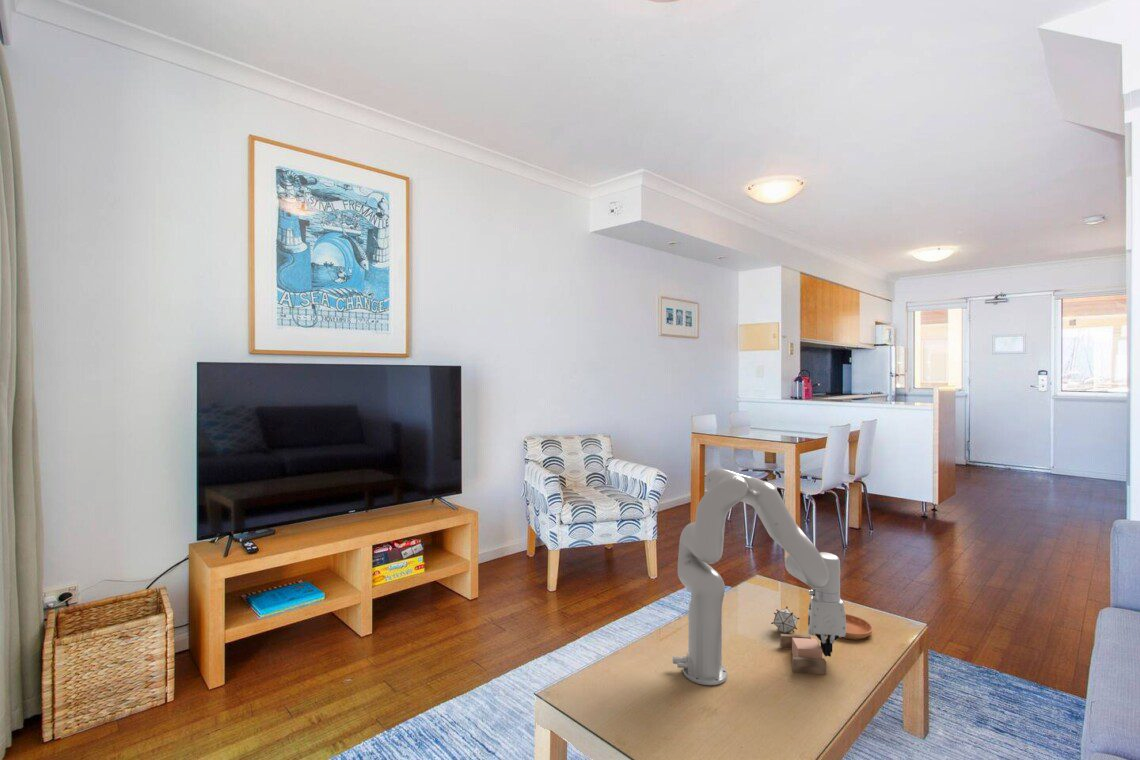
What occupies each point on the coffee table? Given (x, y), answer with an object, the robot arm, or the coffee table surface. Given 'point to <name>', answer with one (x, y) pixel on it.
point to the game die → (785, 620)
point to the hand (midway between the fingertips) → (826, 654)
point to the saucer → (857, 627)
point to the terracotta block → (806, 648)
